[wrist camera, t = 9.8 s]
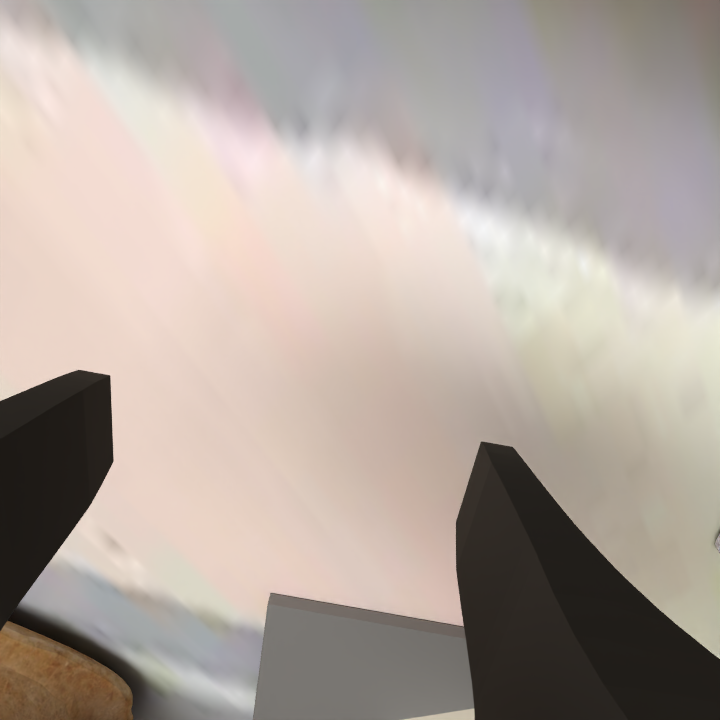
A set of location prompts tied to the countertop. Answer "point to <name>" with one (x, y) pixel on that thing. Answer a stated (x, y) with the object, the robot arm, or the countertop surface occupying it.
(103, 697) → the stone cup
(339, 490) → the countertop surface
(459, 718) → the cream cube
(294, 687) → the charcoal mat
